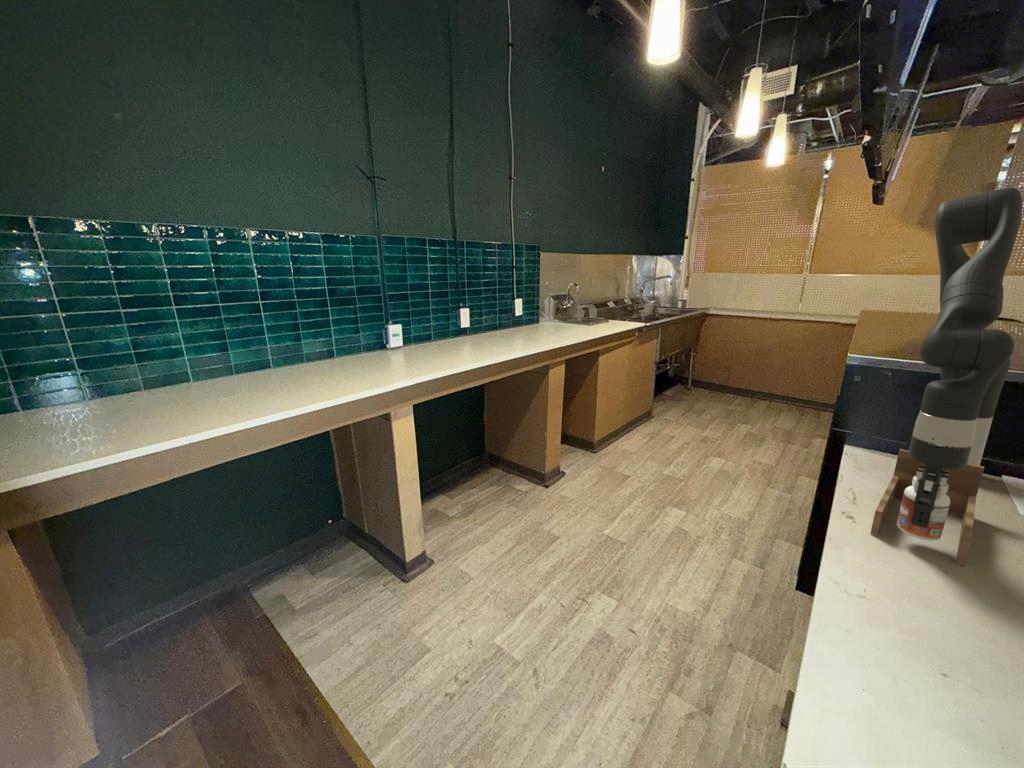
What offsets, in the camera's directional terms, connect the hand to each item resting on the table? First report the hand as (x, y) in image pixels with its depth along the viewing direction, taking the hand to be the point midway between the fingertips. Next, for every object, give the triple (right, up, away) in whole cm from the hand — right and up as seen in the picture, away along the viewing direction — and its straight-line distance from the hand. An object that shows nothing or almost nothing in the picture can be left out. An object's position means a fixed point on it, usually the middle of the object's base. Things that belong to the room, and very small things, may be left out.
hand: (921, 517), depth 76 cm
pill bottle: (0, -3, +1) cm, 3 cm away
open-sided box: (+8, -4, +8) cm, 12 cm away
